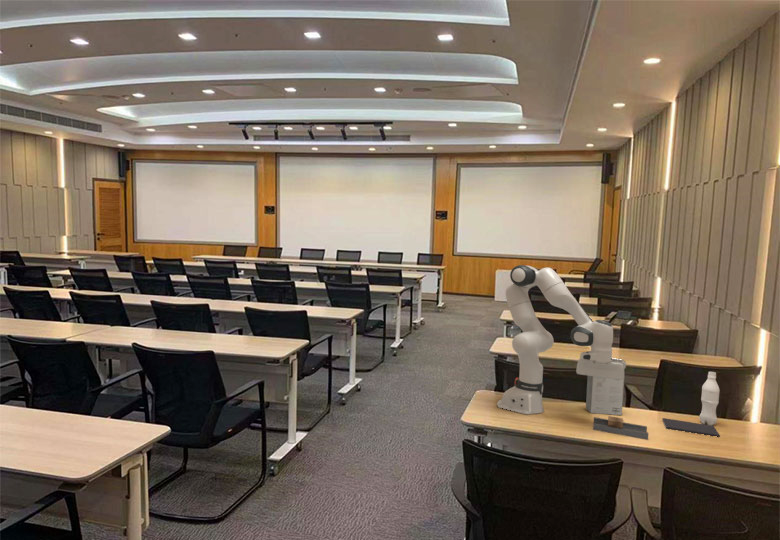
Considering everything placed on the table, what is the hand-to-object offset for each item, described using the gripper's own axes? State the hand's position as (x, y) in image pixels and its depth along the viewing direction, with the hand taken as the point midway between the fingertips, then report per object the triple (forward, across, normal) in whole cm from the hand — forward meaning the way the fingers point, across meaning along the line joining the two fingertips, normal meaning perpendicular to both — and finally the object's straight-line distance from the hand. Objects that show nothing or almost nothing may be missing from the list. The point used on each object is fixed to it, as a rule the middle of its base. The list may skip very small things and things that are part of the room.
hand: (598, 386), depth 227 cm
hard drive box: (+19, -3, -24) cm, 31 cm away
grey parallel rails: (+19, -10, 0) cm, 21 cm away
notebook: (+20, -40, -21) cm, 49 cm away
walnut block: (+19, -8, 0) cm, 20 cm away
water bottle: (+19, -49, -33) cm, 62 cm away
